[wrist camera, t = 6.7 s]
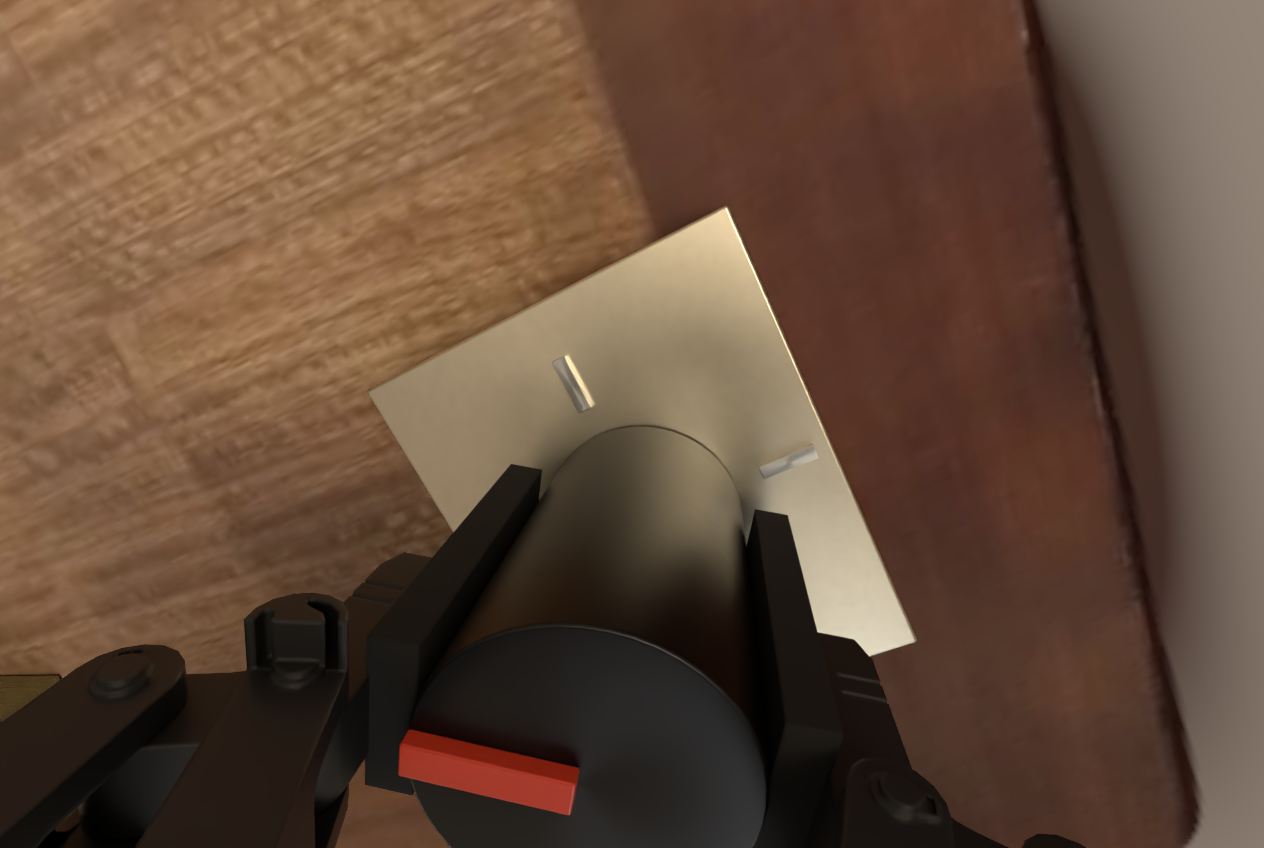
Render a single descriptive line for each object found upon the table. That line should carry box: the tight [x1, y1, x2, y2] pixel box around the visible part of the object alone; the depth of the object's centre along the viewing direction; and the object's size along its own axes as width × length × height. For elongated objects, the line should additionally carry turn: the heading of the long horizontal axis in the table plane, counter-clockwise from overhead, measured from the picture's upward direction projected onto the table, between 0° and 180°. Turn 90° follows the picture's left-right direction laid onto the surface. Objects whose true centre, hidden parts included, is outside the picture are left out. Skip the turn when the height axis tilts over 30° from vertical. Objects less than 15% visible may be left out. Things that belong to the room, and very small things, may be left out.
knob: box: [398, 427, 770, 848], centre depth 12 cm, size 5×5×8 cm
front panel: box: [367, 205, 917, 657], centre depth 17 cm, size 12×10×3 cm
